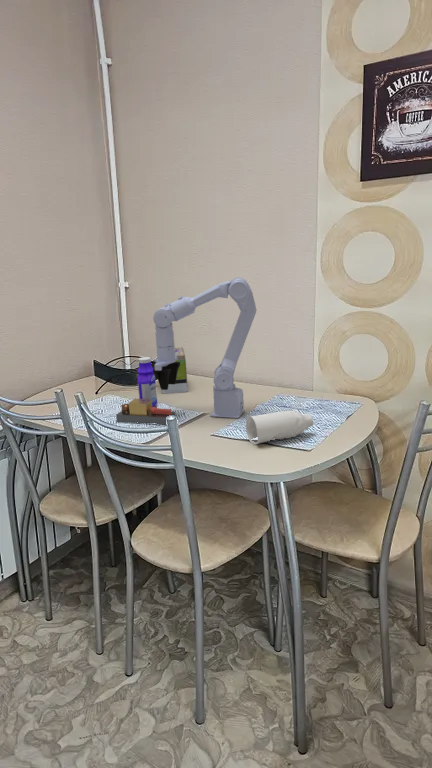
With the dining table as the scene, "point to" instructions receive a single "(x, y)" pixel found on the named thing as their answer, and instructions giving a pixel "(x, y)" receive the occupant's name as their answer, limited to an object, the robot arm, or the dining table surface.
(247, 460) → the dining table surface
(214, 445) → the dining table surface
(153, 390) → the bottle
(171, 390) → the tea box
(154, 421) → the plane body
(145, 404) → the tan rectangular block
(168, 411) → the lever
